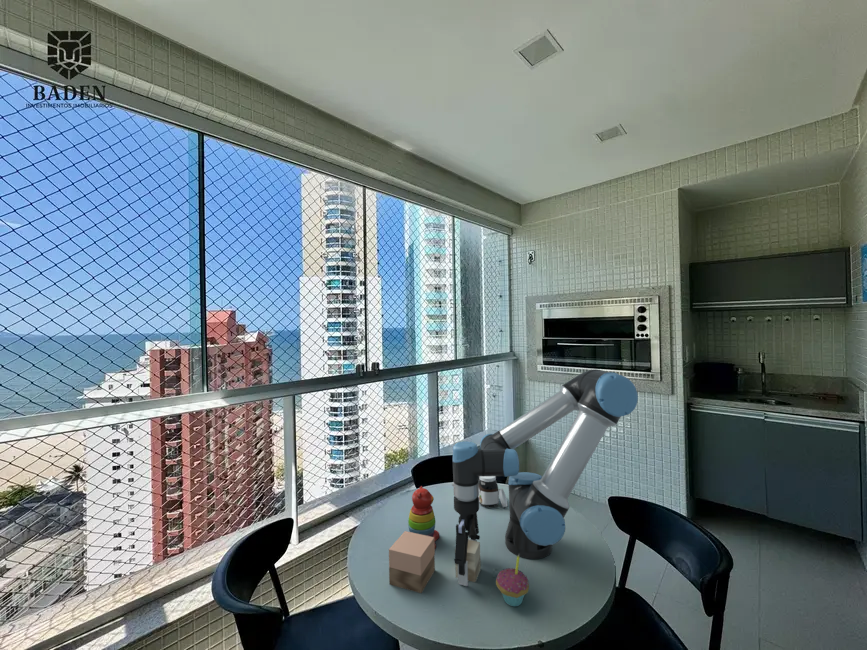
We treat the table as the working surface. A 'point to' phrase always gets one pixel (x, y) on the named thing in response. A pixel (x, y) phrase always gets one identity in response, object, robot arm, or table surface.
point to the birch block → (472, 560)
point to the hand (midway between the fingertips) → (468, 572)
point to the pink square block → (412, 553)
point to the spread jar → (490, 492)
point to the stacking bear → (422, 514)
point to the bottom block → (411, 578)
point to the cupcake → (512, 585)
